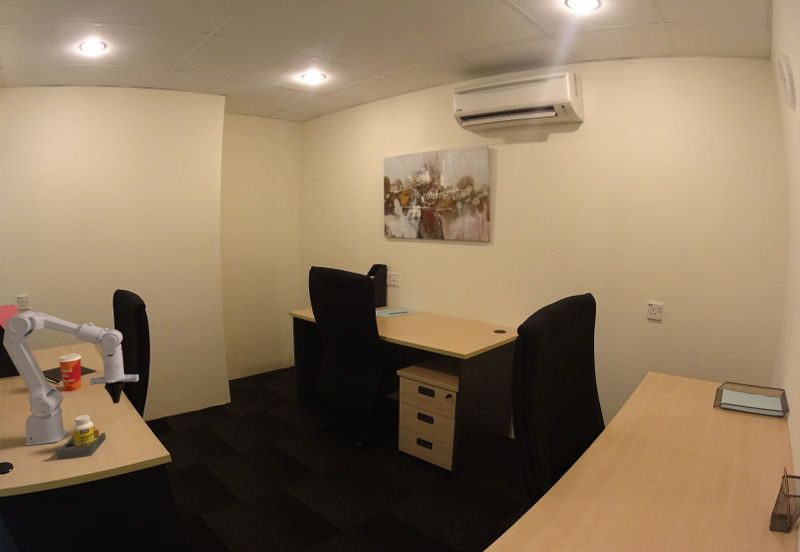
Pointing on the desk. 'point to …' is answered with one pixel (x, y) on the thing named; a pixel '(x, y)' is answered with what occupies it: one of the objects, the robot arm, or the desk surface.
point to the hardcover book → (57, 376)
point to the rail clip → (79, 448)
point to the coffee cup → (71, 371)
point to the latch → (96, 432)
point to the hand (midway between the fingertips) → (116, 402)
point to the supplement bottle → (83, 431)
